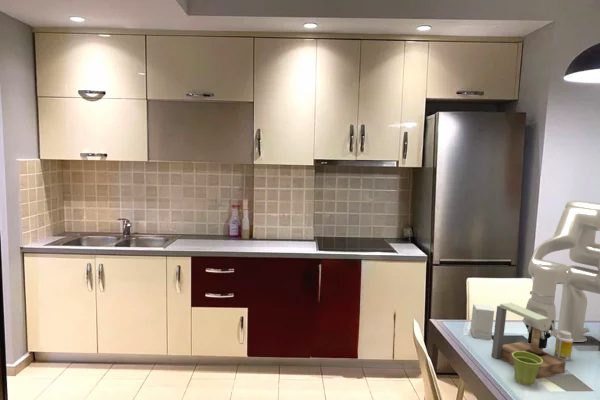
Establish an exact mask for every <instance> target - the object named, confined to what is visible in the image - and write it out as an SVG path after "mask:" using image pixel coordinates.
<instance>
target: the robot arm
mask: <svg viewBox="0 0 600 400" xmlns="http://www.w3.org/2000/svg"><path fill="white" fill-rule="evenodd" d="M597 232H600V202H594V201H593V202H592V201H583V200H570V201H567V202H566V204H565V207H564V210H563V211H562V214H561V216H560V218H559V220H558V224H557V226H556V229H555V231H554V234H553V236H552V237H550V238H548V239H546V240H545V241H543V242H542V243H540V244H539V245H538V246H536V248H535V249H534V251H533V253H532V256H531V258H530V261H529V263H528V266H527V272H528V274H529V275H530V276H531V277H532V278H533V282H532V289H531V290H530V291H529V295H531V297H529V299H528V301H527V303H526V306H525V309H528V310H530V311H532V312H535V313H537V314H540V315H542V316H545V317H547V318H549V319H548V322H541V323H536V322H533V321H531V320H529V319H527V318H524V317H523V319H522V323H523V324H524V325H525V327H526V329H527V333H528V337H527V343H528V344H530V345H531V338H532V330H533V328H536V329H538V330H540V331H541V337H542V338H540V341H539V348H540V349H542V350H543V349H546V348H547V345H548V339H550V338H551V337H555V338H556V337H557V335H559V332H560V331H568V332H570V333H571V338H572V339H573V342H584V341H586V342H587V337H586V336H585V335H584V334H585V333H589V332H590V329H589V327H585V323H586V322H585V321H586V314H587V306H588V298H587V296H586V294H585V292H584V291H586V292H589V293H594V294H598V295H600V243H596V236H597V235H596V234H597ZM563 250H564V251H566V250H569V253H568V254H569V255H568V256H569V259H570V261H572V262H573V263H577V264H582V265H586V266H591V267H596V268H597V269H594V268H590V267H584V266H580V265H579V266H578V265H567V264H564V263H559V262H555V261H550V260H545V259H544V258H545V257H546V256H547V255H549V254H551V253H554V252H559V251H563ZM557 285H562V288H561V289H562V291H561V300H560V307H559V316H558V322H557V328H556V321H557V320H556V319H557V311H556V309H557V308H556V304H555V298H556V290H557Z"/></svg>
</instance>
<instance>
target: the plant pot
mask: <svg viewBox="0 0 600 400" xmlns="http://www.w3.org/2000/svg"><path fill="white" fill-rule="evenodd" d="M512 356H513V360H514V365H513V366H514V367H513V368H514V369H513V371H514V380H515V381H516V382H518V383H519V384H521V385H523V386H532V385H534V384H535V383H536V379H537V378H536V376H537V373H538V369H539V367H540V365H541V364H542V363H543V360H542V359H541V358H540V357H539V356H537V355H535V354H532V353H529V352H523V351H516V352H513V353H512Z"/></svg>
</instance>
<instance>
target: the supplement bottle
mask: <svg viewBox="0 0 600 400" xmlns="http://www.w3.org/2000/svg"><path fill="white" fill-rule="evenodd" d="M573 345H574V343H573V339H572V338H571V333H570V332H568V331H560V332H559V335H557V337H556V336H555V345H554V353H553V354H554V355H553V356H554V357H556V358H558V359H560V360H562V361H569V360H571V358H572V350H573Z"/></svg>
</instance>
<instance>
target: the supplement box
mask: <svg viewBox="0 0 600 400" xmlns="http://www.w3.org/2000/svg"><path fill="white" fill-rule="evenodd" d="M494 315H495V310H494V308H492V306H491V305H489V304H479V303H473V304H472V312H471V321H470V322H471V323H470V334H471V335H472V337H473V338H476V339H481V340H483V339H484V340H490V341H491V340H492V334H493V324H494Z"/></svg>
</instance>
